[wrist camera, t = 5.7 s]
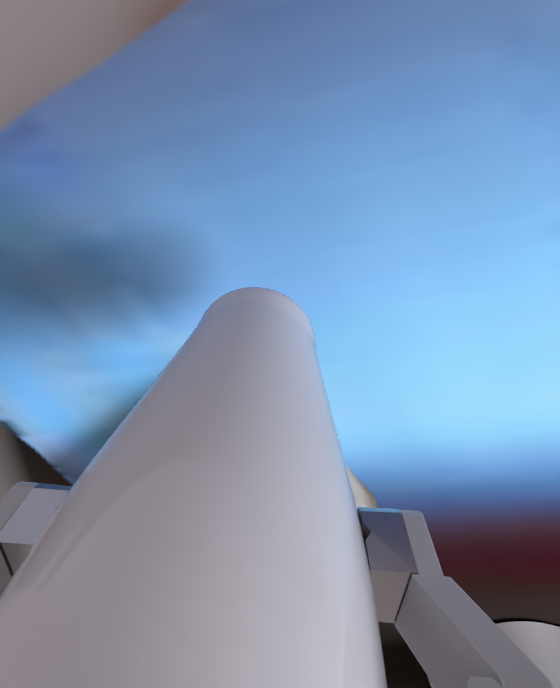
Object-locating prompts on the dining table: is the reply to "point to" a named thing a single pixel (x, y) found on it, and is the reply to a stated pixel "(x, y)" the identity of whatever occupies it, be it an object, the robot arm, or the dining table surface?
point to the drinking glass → (206, 531)
